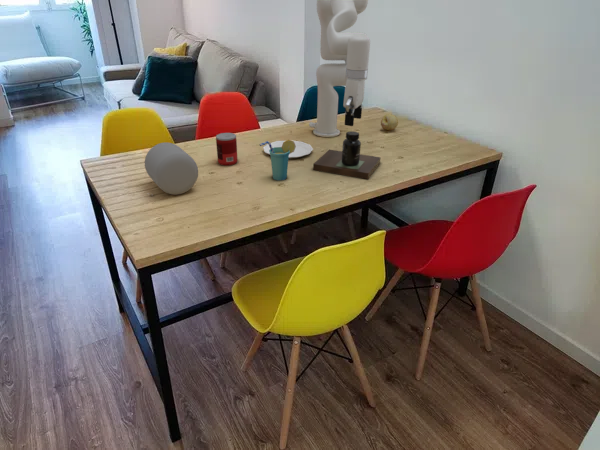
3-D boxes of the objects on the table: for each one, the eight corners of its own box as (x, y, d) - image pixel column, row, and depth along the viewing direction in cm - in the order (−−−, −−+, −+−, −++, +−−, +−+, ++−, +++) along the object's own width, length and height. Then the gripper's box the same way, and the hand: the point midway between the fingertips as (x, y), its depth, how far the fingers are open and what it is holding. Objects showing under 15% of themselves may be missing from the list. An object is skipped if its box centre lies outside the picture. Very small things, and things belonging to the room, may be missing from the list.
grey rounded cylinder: (136, 190, 145) (127, 154, 163) (171, 213, 155) (158, 177, 173) (177, 150, 142) (163, 118, 160) (209, 175, 152) (193, 143, 170)
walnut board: (313, 169, 174) (313, 163, 173) (328, 154, 189) (329, 148, 187) (368, 179, 167) (368, 172, 165) (380, 163, 181) (380, 156, 180)
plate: (284, 164, 178) (284, 160, 177) (253, 150, 192) (253, 147, 191) (322, 153, 190) (322, 149, 190) (291, 140, 204) (291, 137, 203)
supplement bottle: (359, 166, 170) (362, 136, 164) (341, 166, 170) (343, 135, 164) (358, 160, 176) (360, 130, 170) (340, 159, 176) (342, 130, 170)
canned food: (241, 160, 182) (239, 134, 176) (230, 167, 175) (228, 140, 170) (225, 157, 184) (223, 131, 179) (214, 164, 178) (211, 137, 173)
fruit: (378, 128, 222) (379, 112, 218) (394, 128, 223) (396, 111, 219) (382, 133, 215) (384, 116, 211) (399, 132, 216) (401, 116, 212)
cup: (266, 185, 161) (265, 145, 153) (256, 178, 166) (254, 139, 159) (299, 177, 167) (299, 139, 160) (288, 171, 173) (288, 133, 165)
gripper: (353, 68, 165) (350, 114, 174) (338, 77, 152) (335, 127, 160) (373, 70, 163) (369, 116, 172) (359, 80, 149) (355, 130, 158)
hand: (352, 121), depth 166 cm, fingers open, 9 cm apart
